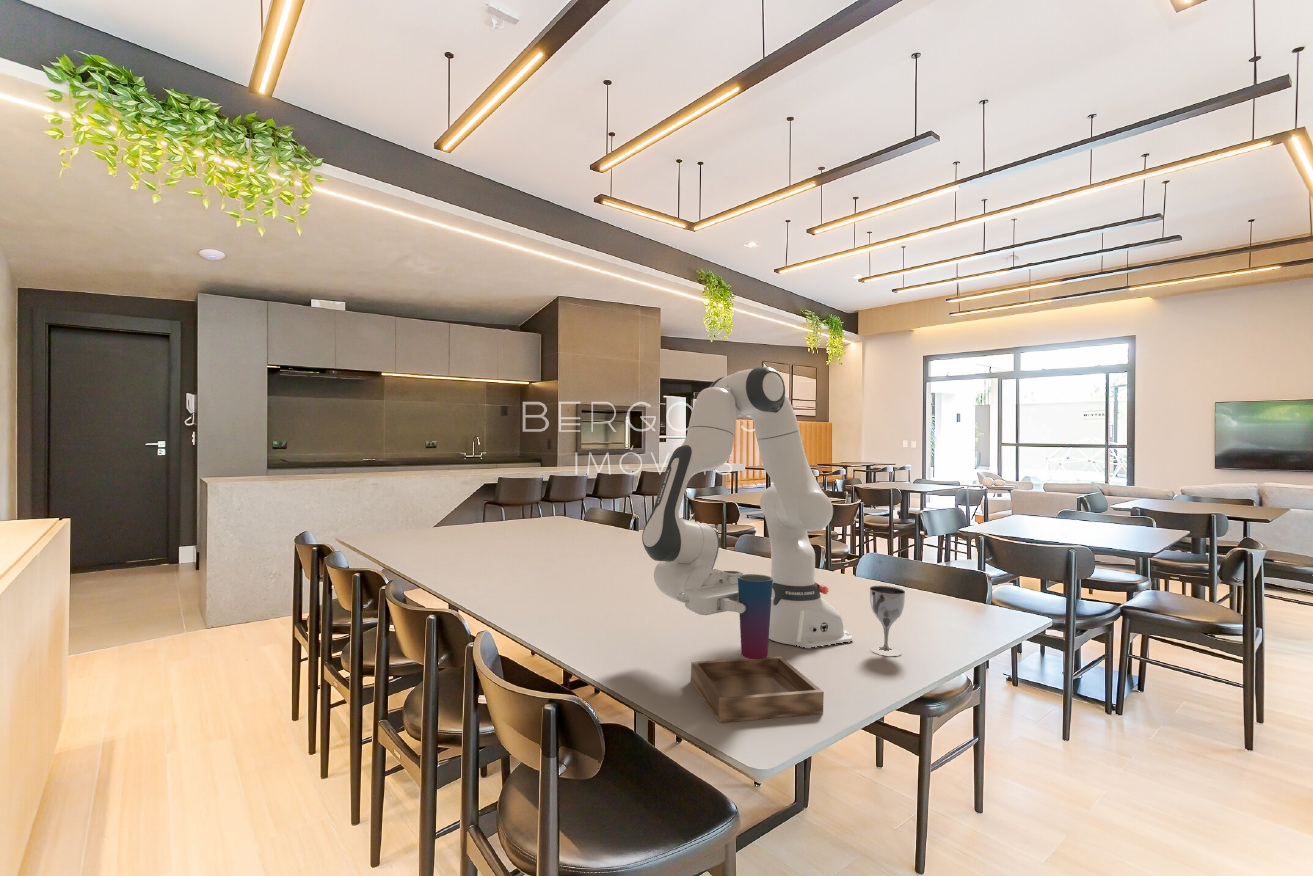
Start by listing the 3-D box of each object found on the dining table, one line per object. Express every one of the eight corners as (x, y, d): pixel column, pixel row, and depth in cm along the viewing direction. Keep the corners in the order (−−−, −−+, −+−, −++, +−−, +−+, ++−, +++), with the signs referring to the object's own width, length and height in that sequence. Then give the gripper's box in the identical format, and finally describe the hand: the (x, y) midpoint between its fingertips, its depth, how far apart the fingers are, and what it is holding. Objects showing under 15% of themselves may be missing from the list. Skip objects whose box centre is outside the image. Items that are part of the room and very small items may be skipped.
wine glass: (862, 646, 144) (864, 585, 144) (893, 645, 145) (894, 585, 145) (877, 657, 136) (879, 593, 136) (910, 657, 137) (911, 594, 137)
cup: (771, 662, 109) (772, 582, 109) (735, 659, 110) (736, 580, 111) (772, 651, 115) (773, 575, 116) (738, 648, 117) (739, 573, 117)
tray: (780, 675, 124) (780, 656, 124) (823, 713, 107) (823, 691, 107) (690, 681, 120) (691, 661, 120) (720, 722, 102) (720, 700, 102)
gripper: (672, 580, 117) (719, 596, 106) (743, 570, 130) (792, 583, 119) (671, 612, 117) (718, 631, 106) (742, 598, 130) (791, 614, 119)
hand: (758, 605), depth 113 cm, fingers closed on cup, 6 cm apart
